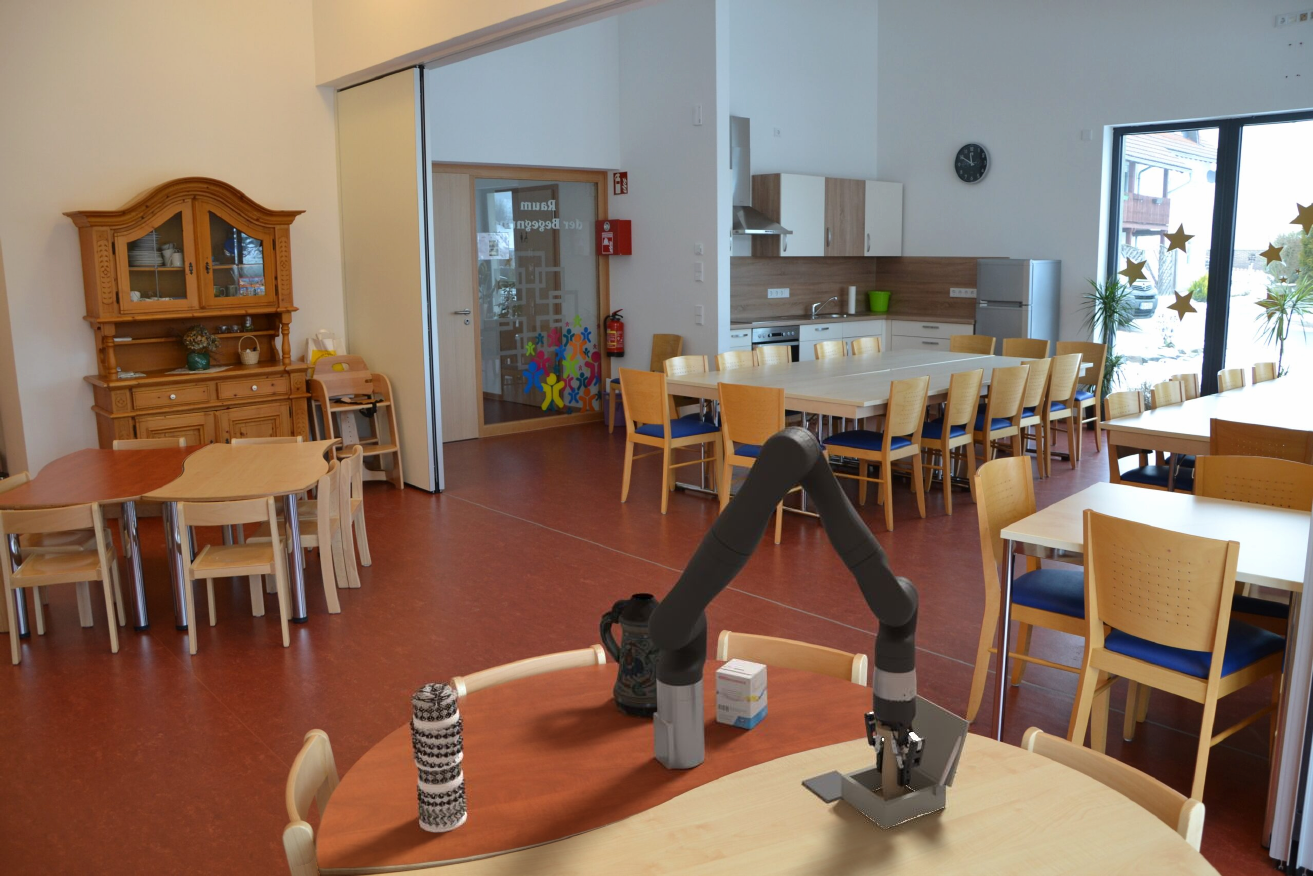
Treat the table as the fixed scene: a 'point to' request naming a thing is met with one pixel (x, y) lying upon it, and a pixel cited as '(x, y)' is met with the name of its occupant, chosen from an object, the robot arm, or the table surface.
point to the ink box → (741, 693)
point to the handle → (889, 765)
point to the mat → (826, 785)
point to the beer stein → (633, 655)
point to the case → (914, 770)
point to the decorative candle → (438, 758)
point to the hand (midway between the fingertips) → (893, 778)
